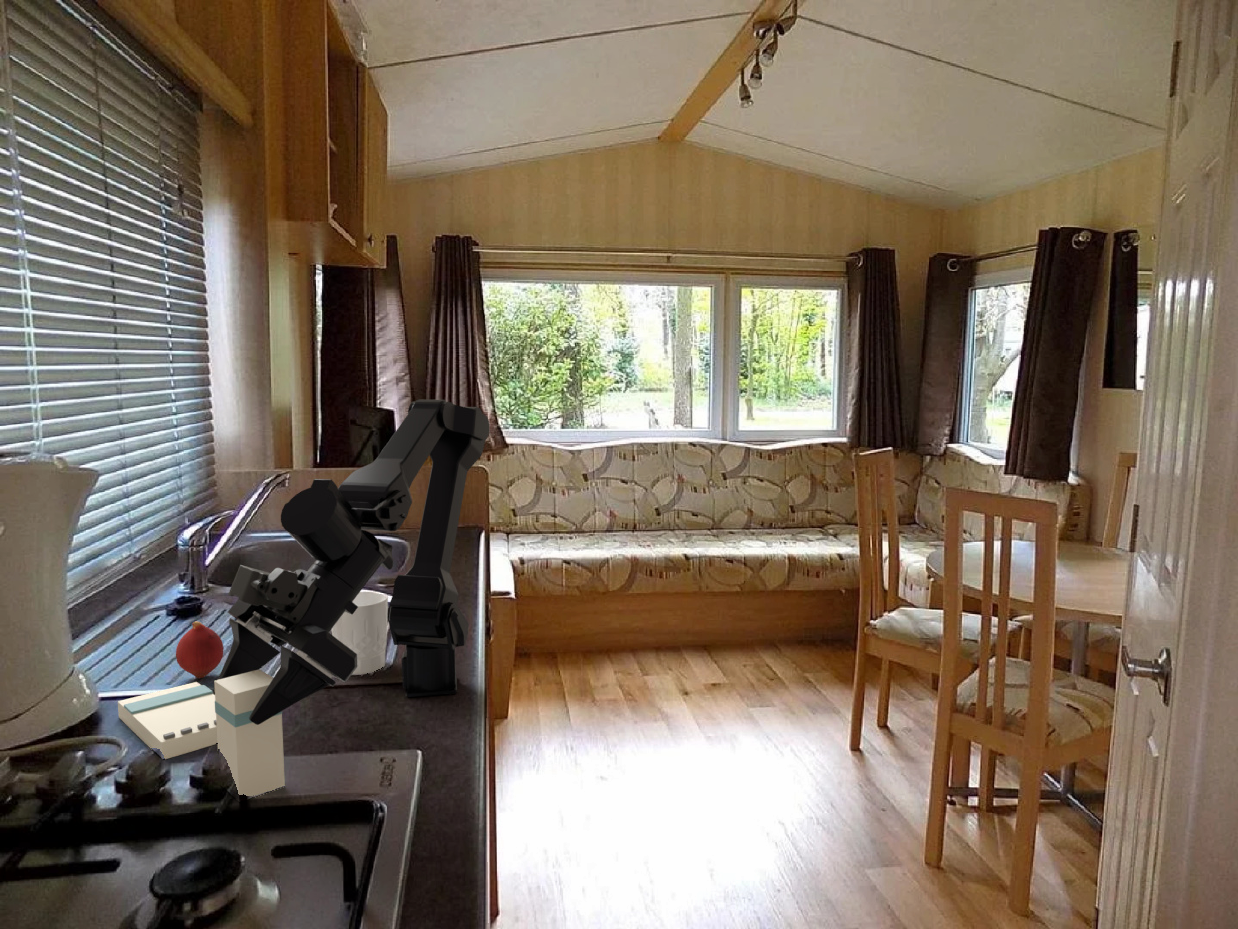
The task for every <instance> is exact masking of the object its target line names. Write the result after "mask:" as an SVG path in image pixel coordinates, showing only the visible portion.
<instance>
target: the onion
mask: <svg viewBox="0 0 1238 929" xmlns="http://www.w3.org/2000/svg"><path fill="white" fill-rule="evenodd" d="M191 625H192V628H191V629H189V630H188V631H187V632H186V633H184V634H183V635H182V637H181V638H180V639H179V641H178V643H177V645H176V649H175V658H176V662H177V664H178V665H179V667H180V668H181V669H183V670H184V671H185V672H187V673H189V674H191V675H192V676H194V677H195V678H196V679H203V678H205V677H207V676H208V675H209V674H210V673H211V672H212V671H214V670H215V669H216V668H217V667H218V666H219V665H220V664H221V661H222V660H223V657H224V651H225V650H224V649H225V648H224V644H223V641H222V639H221V637H220V636H219V634H218V633H217V632H216V631H215V630H213V629H211V628H210V627H208V626H206V625H205V624H202V622H200V621H197V620H195V621H193V622H192V624H191Z"/></svg>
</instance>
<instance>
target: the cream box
mask: <svg viewBox="0 0 1238 929" xmlns="http://www.w3.org/2000/svg"><path fill="white" fill-rule="evenodd" d="M273 678H274V677H273V676H271V675H270V674H268V673H267V672H265V671H263V670H262V669H261V668H260V669H259V670H255V671H251V672H247V673H243V674H239V675H235V676H231V677H227V678H223V679H219V680H218V679H216V680H214V682H213V683H214V687H215V713H216V724H217V743H218V744H217V750H218V749H220V752H221V753H222V754H223V756H224V757H225V759H226V760H227V763H228V766H229V767H230V770H231V773H232V777H233V779H234V781H235V784H236V787H237V790H238V794H239V795H243V794H244V795H246V796H253V795H254V796H255V795H258V794H261V793H264V792H267V791H272V790H274V791H276V790H275V789H276V788H279V787H282V786H285V787H286V783H285V782H286V781H285V762H284V761H285V760H284V758H285V757H284V734H283V715H282V714H283V711H281V712H279V713H278V714H276V715H274V716H273V717H271V718H269V719H268V720H266V721H264V722H263V723H261V724H259V725H256V724H254V723H253V722H251V721H250V720H249V717H250V715H251V714H252V712H253V710H254V708H255V706H256V705H257V703H258V701H259V700H260V698H261V697H262V695H263V694H264V692H265V691H266V689H267V687H268V686H269V684H270V683H271V681H272V680H273ZM272 792H273V791H272Z"/></svg>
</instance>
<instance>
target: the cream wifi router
mask: <svg viewBox="0 0 1238 929" xmlns="http://www.w3.org/2000/svg"><path fill="white" fill-rule="evenodd" d="M117 710H118V718H119V719H120V720H121V721H122V722H123V723H124V724H125V725H126V727H128V728H129V729H130V730H131V731H132V732H133V733H134V734H135V736H137V737H139V738H140V740H141V741H142V742H144V744H145V745H146V746H148V748H150V749H151V748H157V749H160V751H161V752H162V754H163V755H164V758H165V760H167V759H171V758H174V757H178V756H181V755H184V754H188V753H191V752H194V751H197V750H201V749H204V748H208V747H210V746H214V745H217V744H216V743H217V724H216V713H215V695H214V694H213V690H212V689H210V688H209V687H208V686H206V685H205V684H200V683H199V682H197V681H194V682H191V683H186V684H183V685H178V686H175V687H171V688H166V689H163V690H162V689H161V690H157V691H155V692H150V693H146V694H142V695H138V696H137V695H136V696H134V697H130V698H126V699H122V700H118V701H117Z"/></svg>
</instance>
